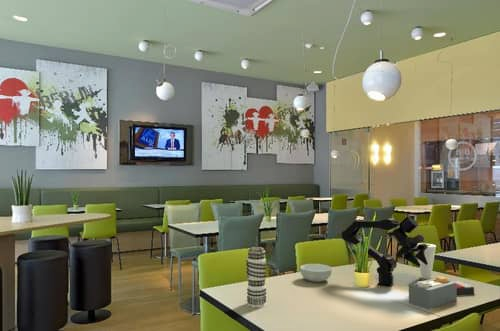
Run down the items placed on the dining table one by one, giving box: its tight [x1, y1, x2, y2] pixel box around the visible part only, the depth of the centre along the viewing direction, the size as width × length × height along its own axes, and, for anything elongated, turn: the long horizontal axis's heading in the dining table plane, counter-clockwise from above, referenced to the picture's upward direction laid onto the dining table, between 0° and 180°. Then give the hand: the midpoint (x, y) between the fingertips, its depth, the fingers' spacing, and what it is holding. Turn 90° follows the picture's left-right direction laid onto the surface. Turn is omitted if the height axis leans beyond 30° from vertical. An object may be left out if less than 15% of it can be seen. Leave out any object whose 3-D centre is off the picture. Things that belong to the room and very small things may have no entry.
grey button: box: [416, 280, 430, 289], centre depth 172 cm, size 5×5×3 cm
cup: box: [416, 242, 437, 280], centre depth 216 cm, size 11×11×18 cm
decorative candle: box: [245, 246, 268, 308], centre depth 173 cm, size 9×9×25 cm
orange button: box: [435, 276, 449, 283], centre depth 180 cm, size 5×5×3 cm
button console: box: [408, 277, 458, 310], centre depth 176 cm, size 10×21×8 cm, turn 123°
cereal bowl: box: [299, 263, 333, 283], centre depth 212 cm, size 17×17×7 cm
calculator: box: [452, 280, 475, 296], centre depth 191 cm, size 11×4×15 cm
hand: (423, 265), depth 188 cm, fingers open, 6 cm apart
